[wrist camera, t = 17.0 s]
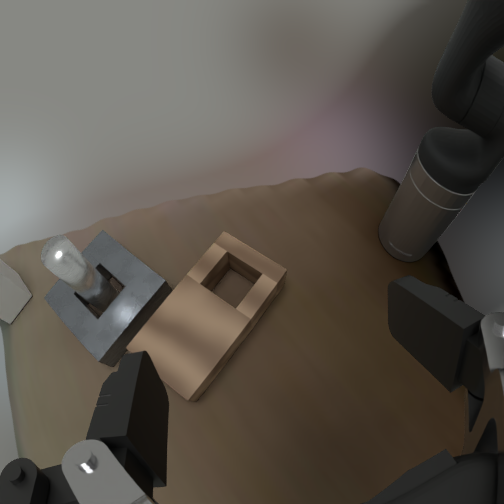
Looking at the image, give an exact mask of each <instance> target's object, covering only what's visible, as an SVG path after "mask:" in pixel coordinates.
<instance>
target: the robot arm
mask: <svg viewBox="0 0 504 504" xmlns="http://www.w3.org/2000/svg"><path fill="white" fill-rule="evenodd" d="M502 47H504V0H468V1H467V3H466V6H465V8H464V11H463V13H462V15H461V17H460V20H459V22H458V24H457V26H456V28H455V30H454V32H453V34H452V36H451V38H450V41H449V43H448V45H447V47H446V49H445V51H444V53H443V55H442V57H441V60H440V62H439V64H438V66H437V69H436V72H435V75H434V79H433V84H432V99H433V103H434V105H435V107H436V108H437V109H438V110H439V111H440V112H441V113H443V114H444V115H445V116H447V117H448V118H449V119H451V120H453V121H455V122H457V123H458V124H460V125H462V126H463V127H465V128H467V129H469V130H462V129H454V128H448V127H436V128H432V129H430V130H429V131H428V132H427V133H426V134H425V135H424V137H423V139H422V141H421V143H420V145H419V148H418V150H417V152H416V154H415V156H414V158H413V160H412V162H411V165H410V167H409V169H408V171H407V173H406V175H405V177H404V179H403V181H402V183H401V185H400V187H399V189H398V191H397V193H396V195H395V196H394V198H393V200H392V202H391V204H390V206H389V208H388V210H387V211H386V213H385V215H384V217H383V219H382V221H381V223H380V225H379V238H380V241H381V243H382V245H383V247H384V248H385V250H386V251H387V252H388V253H389V254H391V255H392V256H393V257H395V258H397V259H399V260H401V261H405V262H413V261H417V260H419V259H421V258H422V257H423V256H424V255H425V254H426V252H427V251H428V250H429V249H430V248H431V247H432V246H433V245H434V243H435V242H436V241H437V240H438V239H439V237H440V236H441V235H442V234H443V233H444V231H445V230H446V229H447V228H448V226H449V225H450V224H451V222H452V221H453V220H454V219H455V218H456V216H457V215H458V214H459V212H460V211H461V210H462V209H463V207H464V206H465V205H466V203H467V202H468V201H469V199H470V198H471V197H472V195H473V194H474V193H475V191H476V190H477V189H478V187H479V186H480V185H481V184H482V183H483V182H484V181H486V180H487V179H488V177H489V176H490V175H491V174H492V172H493V171H494V169H495V168H496V167H497V165H498V164H499V163H500V161H501V160H502V159H503V158H504V62H502V61H500V60H499V59H497V58H496V57H494V56H492V54H493V53H495V52H496V51H498V50H499V49H500V48H502ZM388 324H389V329H390V332H391V334H392V336H393V337H394V338H395V339H396V340H397V341H398V342H399V343H400V344H401V345H402V346H403V347H404V348H405V349H406V350H407V351H408V352H409V353H410V354H411V355H412V356H413V357H415V358H416V359H417V360H418V361H419V362H420V363H421V364H422V365H423V366H424V367H425V368H426V369H427V370H428V371H429V372H430V373H431V374H432V375H433V376H434V377H435V378H436V379H437V380H438V381H439V382H440V383H441V384H442V385H443V386H444V387H445V388H446V389H447V390H448V391H449V392H450V393H451V392H452V391H454V390H455V389H457V388H459V387H460V386H462V385H464V386H465V387H466V390H465V393H464V409H465V434H464V446H463V450H462V453H461V456H457V457H452V456H451V455H450V454H449V452H448V451H447V450H446V449H445V450H443V451H442V452H440V453H438V454H437V455H435V456H433V457H432V458H430V459H428V460H426V461H425V462H423V463H421V464H419V465H418V466H416V467H414V468H412V469H410V470H408V471H407V472H406V473H404V474H403V475H402V476H401V477H400V478H398V479H397V480H396V481H395V482H393V483H392V484H391V485H390V486H388V487H387V488H386V489H384V490H383V491H382V492H380V493H379V494H378V495H376V496H375V497H374V498H372V499H371V500H369V501H367V502H365V503H362V504H504V312H496V313H491V314H488V315H487V316H485V315H483V314H481V313H480V312H478V311H477V310H475V309H473V308H472V307H470V306H469V305H467V304H465V303H464V302H462V301H460V300H457V298H455V297H454V296H452V295H449V293H447V292H445V291H444V290H442V289H440V288H439V287H435V286H431V285H427V284H424V283H423V282H421V281H419V280H418V279H416V278H414V277H413V276H410V275H408V276H405V277H403V278H400V279H397V280H394V281H392V282H390V283H389V285H388ZM99 396H100V397H99V398H98V401H97V404H96V405H97V407H95V410H94V413H93V417H92V420H91V423H90V427H89V430H88V433H87V437H86V440H84V441H81V442H79V443H77V444H75V445H73V446H72V447H71V448H70V449H69V450H68V451H67V452H66V454H65V455H64V457H63V460H62V464H60V465H57V466H53V467H49V468H45V469H41V470H40V469H39V468H38V467H37V466H36V465H35V464H34V463H33V462H32V461H31V460H29V459H27V458H19V459H16V460H13V461H11V462H10V463H9V464H8V465H7V466H6V467H5V468H4V469H3V471H2V473H1V475H0V504H158V503H157V502H156V500H155V499H154V498H153V487H164V486H166V479H167V436H168V413H169V401H168V395H167V392H166V389H165V387H164V385H163V383H162V381H161V379H160V376H159V374H158V372H157V370H156V368H155V366H154V364H153V362H152V359H151V357H150V355H149V354H148V352H147V351H140V352H135V353H130V354H125V355H123V356H122V359H121V362H120V365H119V368H118V371H117V372H113V373H111V375H110V376H109V377H108V378H107V379H106V381H105V382H104V383H103V385H102V388H101V391H100V394H99Z"/></svg>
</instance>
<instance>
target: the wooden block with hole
mask: <svg viewBox="0 0 504 504" xmlns="http://www.w3.org/2000/svg"><path fill="white" fill-rule="evenodd" d="M230 268H231V269H233V270H234V271H236V272H237V273H239V274H240V275H242V276H243V277H245V278H247V279H248V280H250V281H251V282H253V283H254V284H255V285H254V286H253V287H252V288H251V290H250V291H249V292H248V294H247V295H246V296H245V298H244V299H243V300H242V301H241V303H240V304H239V305H238V307H237V308H236V309H235V308H234V307H233V306H231V305H230V304H228V303H227V302H225V301H224V300H222V299H221V298H219V297H218V296H217V295H215V294H214V293H212V292H211V291H212V290H213V288H214V287H215V286H216V285H217V283H218V282H219V281H220V280H221V279H222V277H223V276H224V275H225V274H226V272H227V271H228V270H229V269H230ZM286 273H287V269H285V268H284V267H282V266H280V265H279V264H277V263H275V262H274V261H272V260H270V259H269V258H267V257H266V256H264V255H262V254H261V253H259V252H257V251H256V250H254V249H252V248H251V247H249V246H248V245H246V244H244V243H243V242H241V241H239V240H238V239H236V238H234V237H233V236H231V235H230V234H228V233H226V232H225V231H224V232H223V233H222V234H221V235H220V236H219V238H218V239H217V240H216V241H215V242H214V243H213V244H212V246H211V247H210V248H209V249H208V250H207V251H206V253H205V254H204V255H203V256H202V257H201V258H200V259H199V261H198V262H197V263H196V264H195V265H194V266H193V268H192V269H191V270H190V271H189V272H188V273H187V275H186V276H185V277H184V278H183V279H182V281H181V282H180V283H179V284H178V285H177V286H176V288H175V289H174V290H173V291H172V292H171V294H170V295H169V296H168V297H167V298H166V300H165V301H164V302H163V303H162V304H161V306H160V307H159V308H158V309H157V310H156V312H155V313H154V314H153V315H152V316H151V318H150V319H149V320H148V321H147V322H146V324H145V325H144V326H143V327H142V329H141V330H140V331H139V332H138V333H137V335H136V336H135V337H134V338H133V340H132V341H131V342H130V343H129V345H128V346H127V347H126V348H127V349H128V350H129V351H130V352H131V353H135V352H140V351H147V352H148V354H149V355H150V357H151V359H152V362H153V364H154V366H155V368H156V370H157V372H158V374H159V376H160V379H162V380H163V381H164V382H165V383H166V384H168V385H169V386H170V387H171V388H172V389H174V390H175V391H176V392H177V393H179V394H180V395H181V396H182V397H184V398H185V399H186V400H187V401H193V402H197V400H198V399H199V398H200V397H201V395H202V394H203V393H204V391H205V390H206V389H207V388H208V386H209V385H210V384H211V383H212V381H213V380H214V379H215V377H216V376H217V375H218V374H219V372H220V371H221V370H222V368H223V367H224V366H225V364H226V363H227V362H228V361H229V359H230V358H231V357H232V355H233V354H234V353H235V351H236V350H237V349H238V347H239V346H240V345H241V343H242V342H243V341H244V339H245V338H246V337H247V335H248V334H249V333H250V331H251V330H252V329H253V327H254V326H255V325H256V323H257V322H258V321H259V319H260V318H261V316H262V315H263V314H264V312H265V311H266V310H267V308H268V307H269V305H270V304H271V303H272V301H273V300H274V299H275V297H276V296H277V294H278V293H279V292H280V290H281V289H282V287H283V286H284V284H285V279H286Z"/></svg>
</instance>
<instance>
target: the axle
mask: <svg viewBox="0 0 504 504" xmlns="http://www.w3.org/2000/svg"><path fill="white" fill-rule="evenodd" d="M41 260H42V263H43V265H44V266H46V267H47V268H48V269H49V270H50V271H51V272H53V273H54V274H55V275H56V276H57V277H58V278H60V279H61V280H62V281H63V282H64V283H66V284H67V285H68V286H69V287H71V288H72V289H73V290H74V291H76V292H77V293H78V294H79V295H81V296H82V297H83V298H84V299H86V300H87V301H88V302H90V303H91V304H92V305H93V306H95V307H96V308H97V309H99V310H100V311H101V312H103V313H104V312H105V310H106V309H107V308H108V307H109V306H110V304H111V303H112V302H113V301H114V300H115V298H116V297H117V296H118V295H119V294H120V293H119V292H118V291H117V290H116V289H115V288H114V287H113V286H112V285H111V284H110V283H109V282H108V281H107V280H106V279H105V278H104V277H103V276H102V275H101V274H100V273H99V272H98V271H97V270H96V269H95V268H94V266H93V265H92V264H91V263H90V262H89V261H88V260H87V259H86V258H85V257H84V256H83V255H82V254H81V253H80V252H79V251H78V249H77V248H76V247H75V246H74V245H73V244H72V243H71V242H70V241H69V240H68V238H67V237H65V236H64V235H57V236H54V237H52V238H51V239H49V240H48V241H47V243H46V244H45V245H44V247H43V249H42V253H41Z"/></svg>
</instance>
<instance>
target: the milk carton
mask: <svg viewBox="0 0 504 504" xmlns="http://www.w3.org/2000/svg"><path fill="white" fill-rule="evenodd" d="M31 297H32V294H31V293H30V291H29V290H28V288H27V287H26V285H25V284H24V282H23V280H22V279H21V277H20V276H19V274H18V273H17V272H16V271H14V270H13V269H12V268H11V267H9V266H8V265H7V264H6V263H4V262H3V261H2V260H1V259H0V319H1V320H3V321H5V322H7V323H9V324H11V323H12V322H13V320H14V319H15V318H16V316H17V315H18V314H19V312H20V311H21V310H22V308H23V307H24V306H25V304H26V303H27V302H28V301H29V299H30V298H31Z"/></svg>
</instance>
